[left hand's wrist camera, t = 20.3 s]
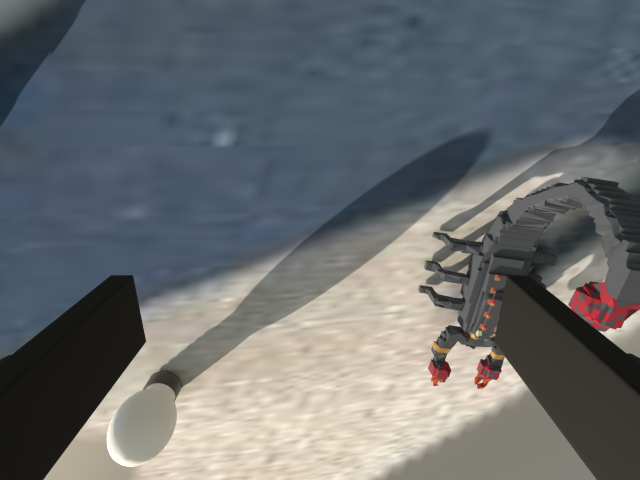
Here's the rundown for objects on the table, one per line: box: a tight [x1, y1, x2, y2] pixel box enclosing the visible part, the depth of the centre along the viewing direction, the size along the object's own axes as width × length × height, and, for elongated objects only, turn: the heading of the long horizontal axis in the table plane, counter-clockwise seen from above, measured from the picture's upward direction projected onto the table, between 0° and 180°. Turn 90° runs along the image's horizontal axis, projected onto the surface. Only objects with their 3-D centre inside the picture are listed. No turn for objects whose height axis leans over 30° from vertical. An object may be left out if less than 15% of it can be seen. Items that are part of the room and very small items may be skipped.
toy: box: [419, 177, 640, 389], centre depth 33 cm, size 13×27×18 cm, turn 172°
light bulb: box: [107, 372, 181, 467], centre depth 42 cm, size 7×7×11 cm
